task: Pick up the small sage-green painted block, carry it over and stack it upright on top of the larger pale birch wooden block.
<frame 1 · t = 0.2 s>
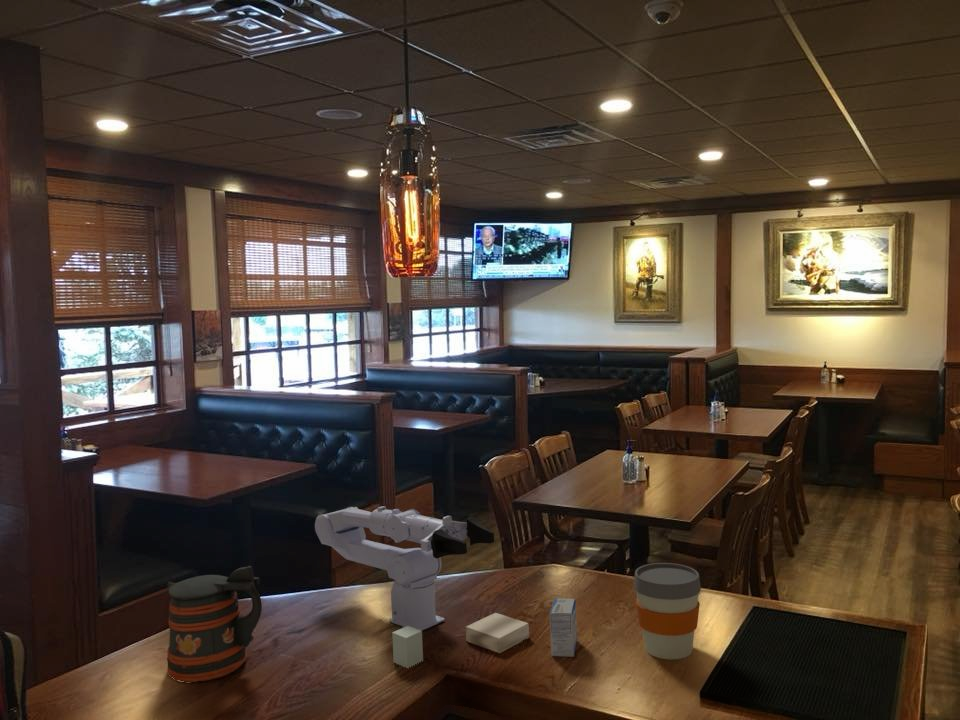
hand: (479, 542, 156), 21 cm above the bar counter, tool horizontal, fingers open, 7 cm apart
beer stein: (219, 666, 154), on the bar counter
medicine box: (564, 649, 156), on the bar counter
sage block: (408, 662, 153), on the bar counter
birch block: (497, 639, 161), on the bar counter
reusable coffee cup: (668, 650, 154), on the bar counter
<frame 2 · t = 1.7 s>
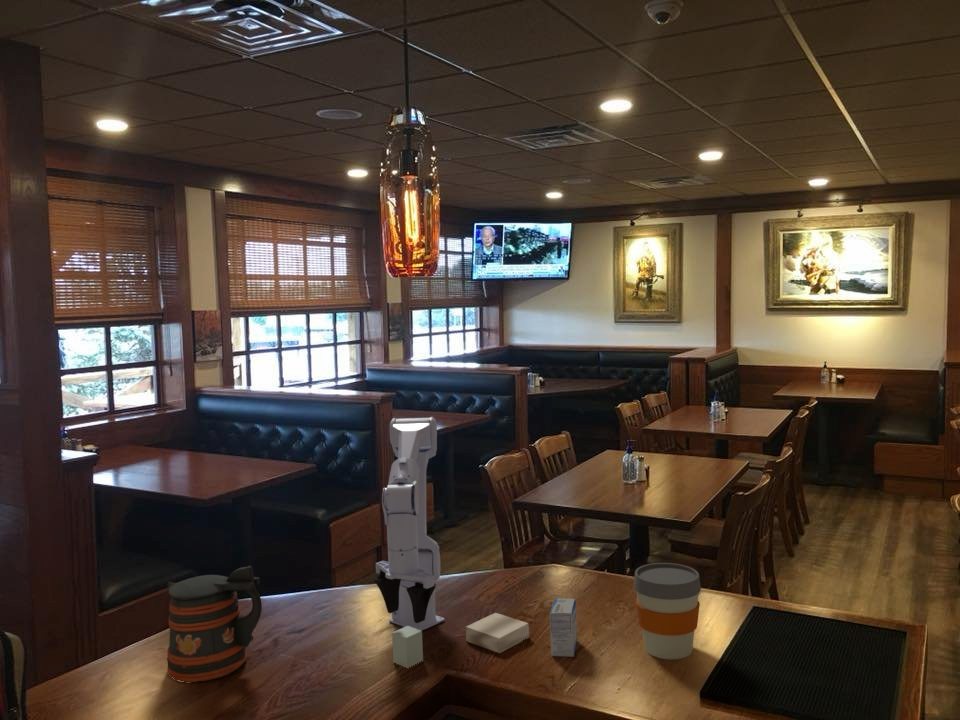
hand: (406, 616, 152), 9 cm above the bar counter, tool pointing down, fingers open, 7 cm apart
nothing on the bar counter moved.
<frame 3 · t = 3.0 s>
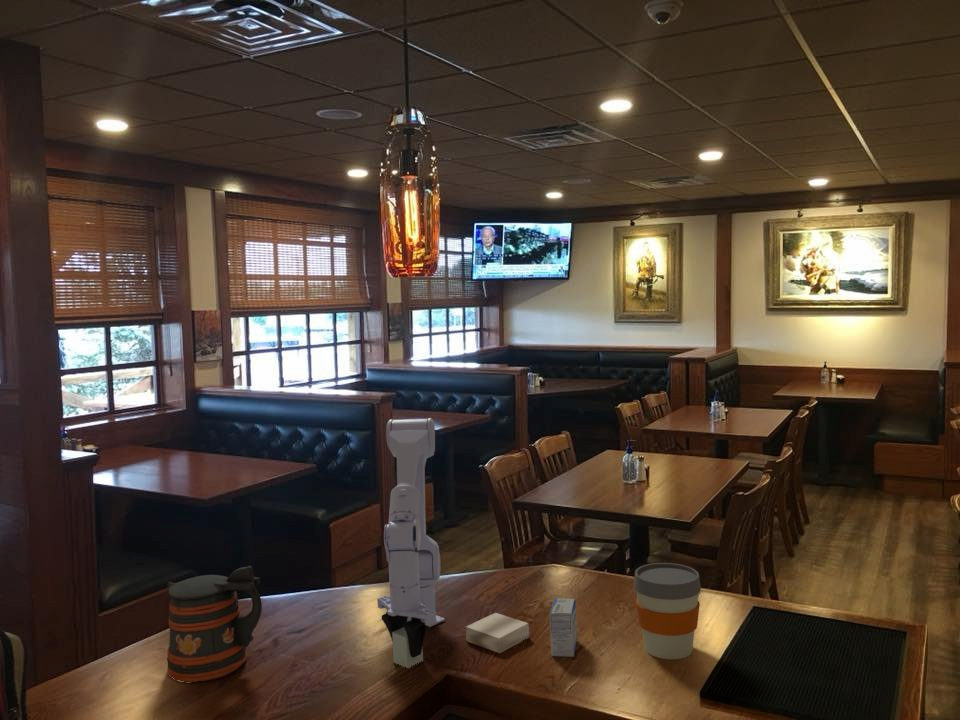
hand: (407, 652, 152), 2 cm above the bar counter, tool pointing down, fingers closed on sage block, 4 cm apart
sage block: (408, 661, 153), on the bar counter, touching gripper
everything else where it was.
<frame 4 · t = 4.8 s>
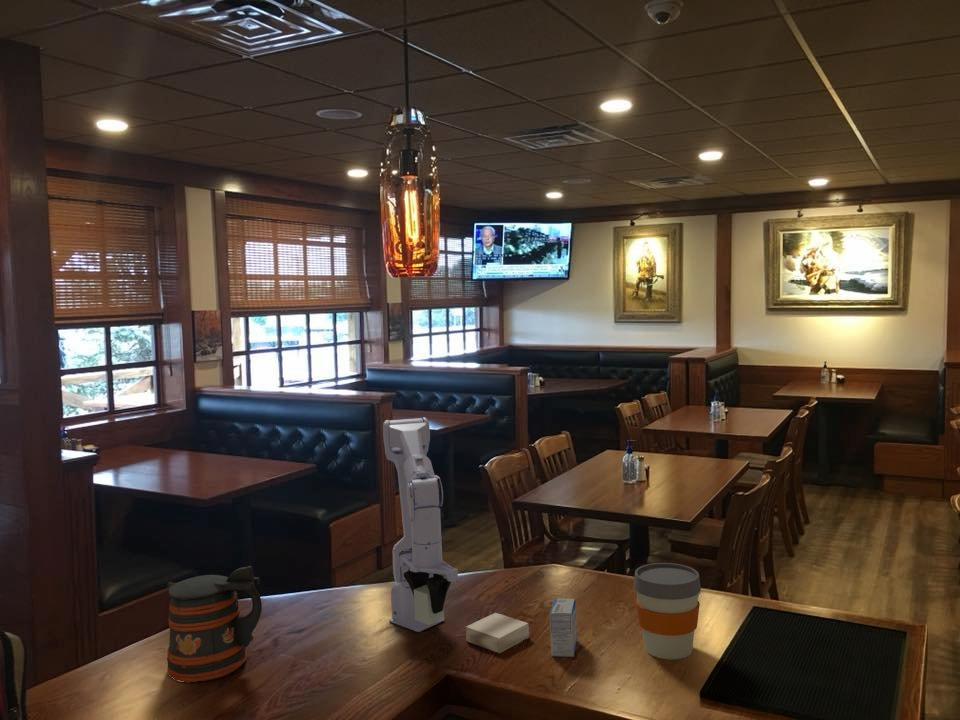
hand: (429, 608, 154), 9 cm above the bar counter, tool pointing down, fingers closed on sage block, 4 cm apart
sage block: (429, 619, 154), point 7 cm above the bar counter, touching gripper
everything else where it was.
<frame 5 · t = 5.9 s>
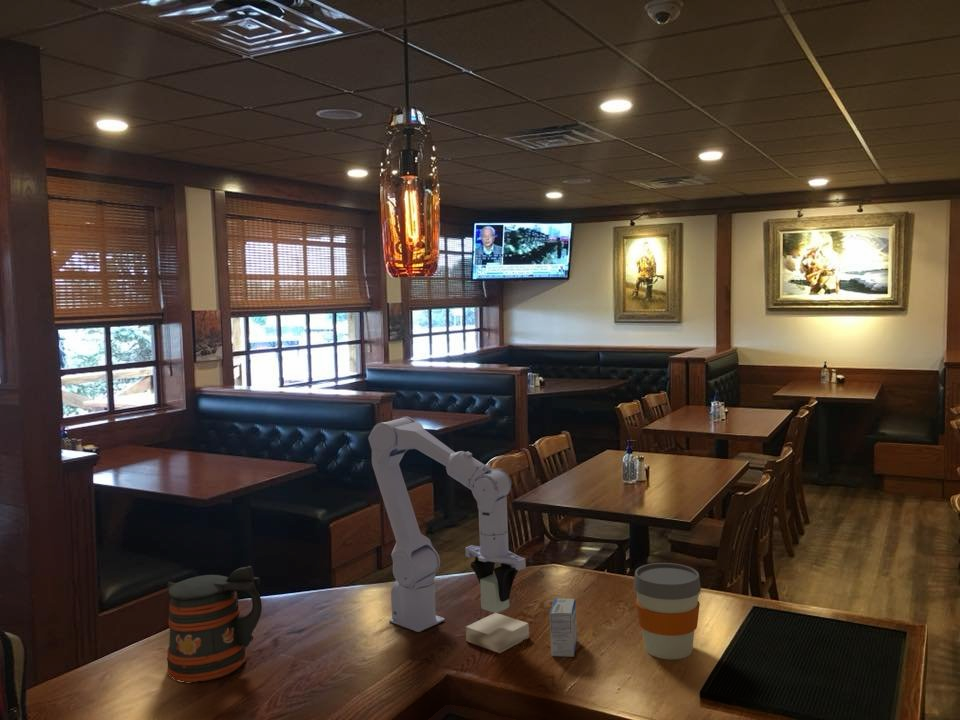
hand: (496, 597, 160), 9 cm above the bar counter, tool pointing down, fingers closed on sage block, 4 cm apart
sage block: (495, 607, 160), point 7 cm above the bar counter, touching gripper
everything else where it was.
when the fingers open (6 cm above the bar counter, at t = 6.9 s): sage block stays where it is, resting on birch block.
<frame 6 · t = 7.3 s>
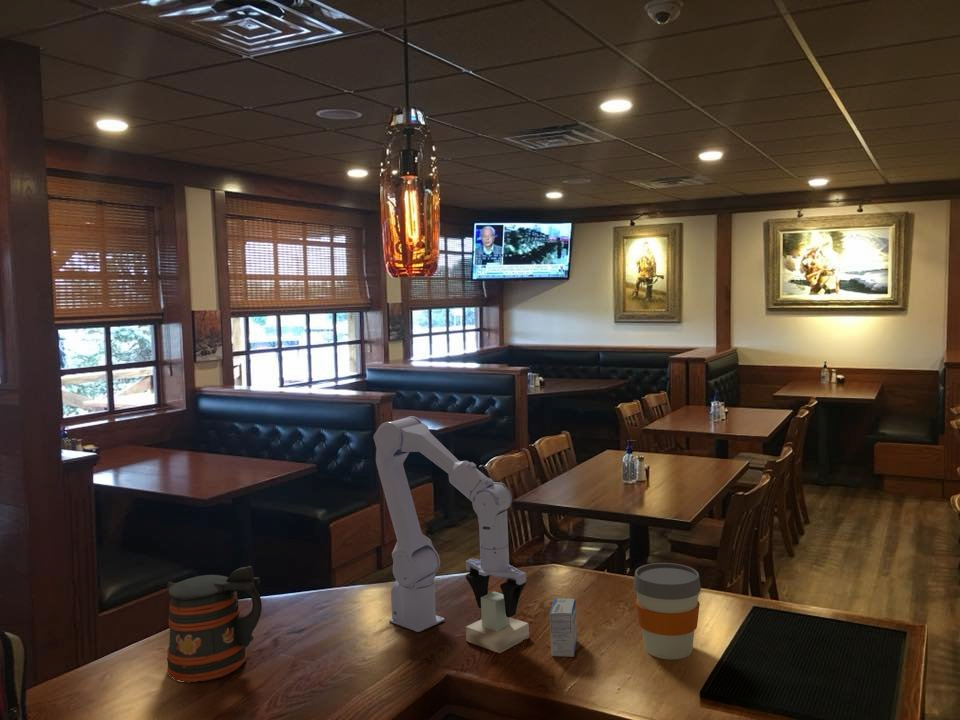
hand: (496, 611, 161), 6 cm above the bar counter, tool pointing down, fingers open, 7 cm apart
sage block: (495, 625, 161), point 3 cm above the bar counter, touching birch block
everything else where it was.
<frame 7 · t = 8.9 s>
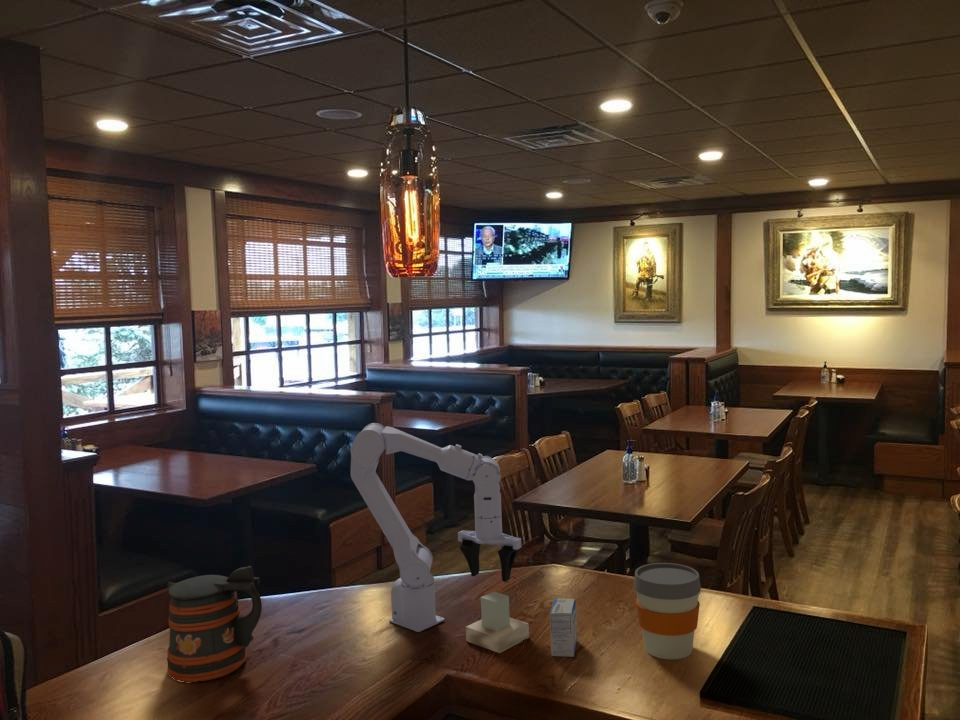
hand: (490, 577, 170), 9 cm above the bar counter, tool pointing down, fingers open, 7 cm apart
nothing on the bar counter moved.
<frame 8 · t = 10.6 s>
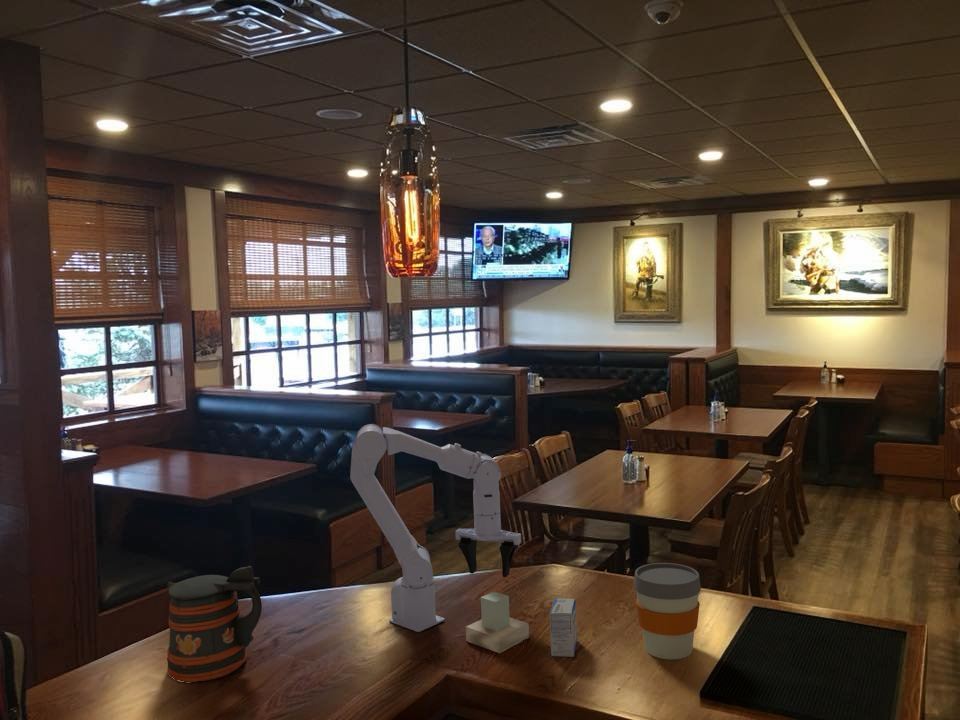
hand: (489, 573, 172), 9 cm above the bar counter, tool pointing down, fingers open, 7 cm apart
nothing on the bar counter moved.
at the end: sage block 0.4 cm off-centre on the birch block, point 3.0 cm above the birch block's base; sage block tilted 0°; the gripper is holding nothing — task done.
